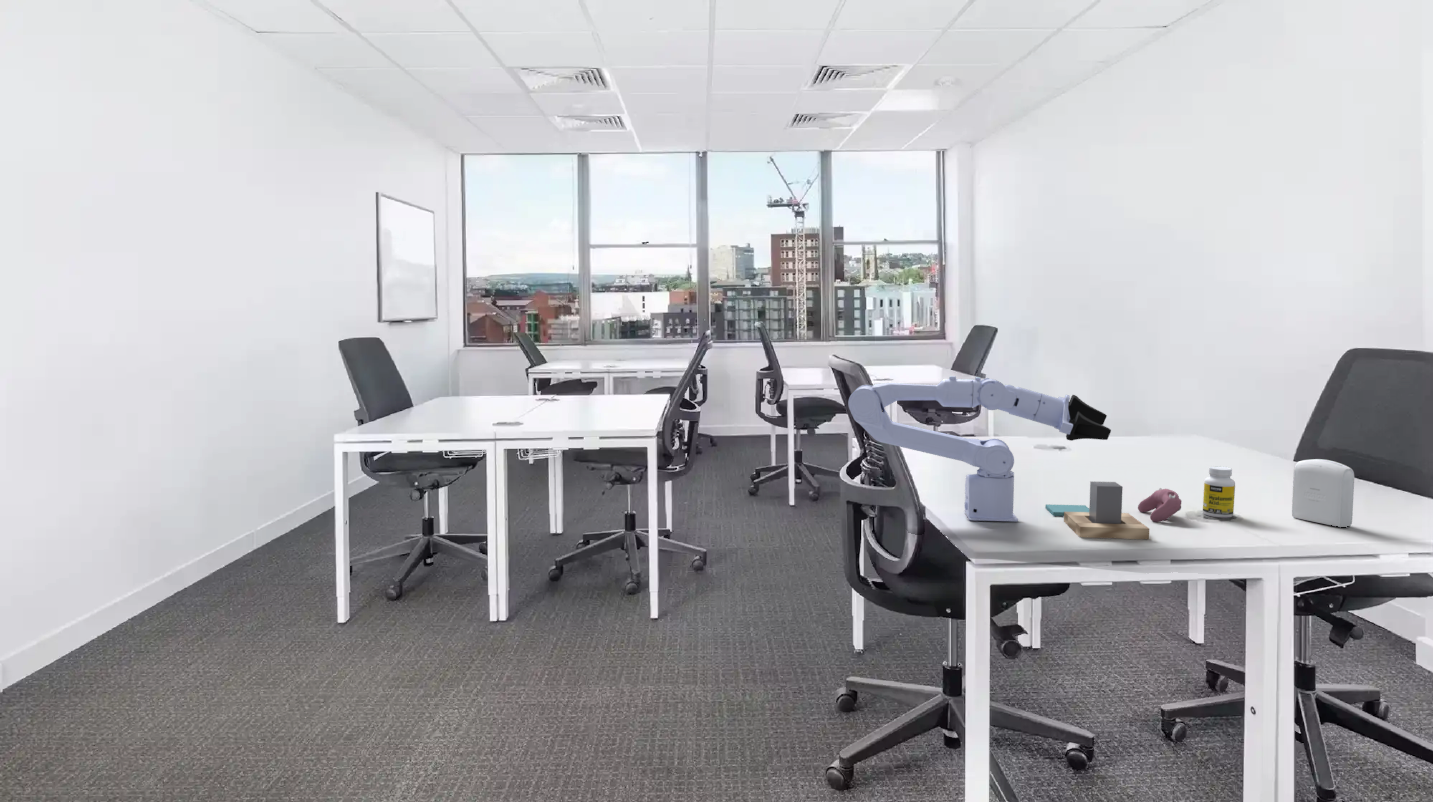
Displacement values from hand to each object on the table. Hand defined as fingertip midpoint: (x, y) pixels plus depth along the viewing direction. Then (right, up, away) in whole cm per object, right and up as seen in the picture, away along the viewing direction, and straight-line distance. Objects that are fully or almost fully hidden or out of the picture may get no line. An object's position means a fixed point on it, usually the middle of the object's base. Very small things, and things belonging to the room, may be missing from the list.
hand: (1106, 427), depth 162 cm
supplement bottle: (+26, -18, +7) cm, 32 cm away
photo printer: (+42, -19, 0) cm, 46 cm away
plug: (-2, -20, -4) cm, 20 cm away
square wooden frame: (-2, -20, -4) cm, 20 cm away
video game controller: (+13, -19, +6) cm, 24 cm away
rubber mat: (-3, -18, +10) cm, 21 cm away
